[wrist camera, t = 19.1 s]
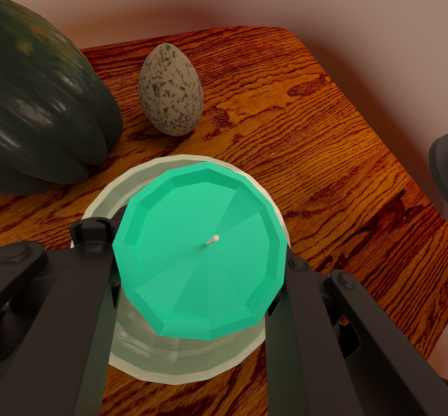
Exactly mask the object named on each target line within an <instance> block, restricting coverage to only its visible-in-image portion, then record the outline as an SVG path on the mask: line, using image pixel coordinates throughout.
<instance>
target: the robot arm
mask: <svg viewBox="0 0 448 416" xmlns="http://www.w3.org/2000/svg"><path fill="white" fill-rule="evenodd" d="M127 206H128V204H126V205H124V206H122V207H120V209H119V210H118V211H117V212H116V214H114V215H113V217H112V218H111V219H108V218H106V217H89V218H85V219H82V220H79V221H77V222H75V223H73V224H72V225H71V226H70V227H69V229H70V233H71V237H72V241H73V245H74V247H73V248H67V249H58V250H49V251H46V249H45V246H44V245H43V244H42V243H41V242H37V241H20V242H15V243H11V244H8V245H5V246H2V247H0V383H1V384H0V416H99V415H100V409H101V404H102V398H103V392H104V386H105V381H106V375H107V369H108V363H109V358H110V352H111V346H112V340H113V335H114V329H115V323H116V317H117V312H118V306H119V300H120V294H121V277H120V273H119V270H118V266H117V262H116V258H115V254H114V250H113V246H112V245H113V242H114V239H115V237H116V234H117V232H118V229H119V226H120V224H121V221H122V219H123V216H124V213H125V211H126V208H127ZM344 315H345V316H346V318H347V319H348V321H349V323H348V324H347V325H346V326H345V325H343V323H342V322H341V321H340V319H341V318H342V317H343V316H344ZM265 339H266V367H267V394H268V416H448V386H447V385H446V383H445V382H444V381H443V380H442V379H441V378H440V376H439V375H438V374H437V373H436V372H435V371H434V369H433V368H432V367H431V366H430V365H429V364H428V362H427V361H426V360H425V359H424V358H423V356H422V355H421V354H420V353H419V352H418V351H417V349H416V348H415V347H414V346H413V345H412V344H411V342H410V341H409V340H408V339H407V338H406V337H405V335H404V334H403V333H402V332H401V331H400V329H399V328H398V327H397V326H396V325H395V324H394V322H393V321H392V320H391V319H390V318H389V317H388V315H387V314H386V313H385V312H384V311H383V310H382V308H381V307H380V306H379V305H378V304H377V302H376V301H375V300H374V299H373V298H372V297H371V295H370V294H369V293H368V292H367V291H366V290H365V288H364V287H363V286H362V285H361V284H360V283H359V282H358V281H357V280H356V279H355V278H354V277H353V276H351V275H350V274H349V273H347V272H344V271H342V270H338V269H334V270H332V271H331V272H330V273H329V274H328V276H327V275H324V274H321V273H319V272H316V271H313V270H312V268H311V267H310V265H309V264H308V263H307V262H306V261H305V260H304V259H302V258H301V257H299V256H296V255H294V253H293V252H292V250H291V248H290V247H289V245H288V243H287V250H286V261H285V272H284V283H283V285H282V287H281V288H280V290H279V292H278V293H277V295H276V296H275V298H274V300H273V301H272V303H271V304H270V306H269V308H268V309H267V311H266V312H265Z"/></svg>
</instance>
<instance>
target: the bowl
mask: <svg viewBox="0 0 448 416" xmlns="http://www.w3.org/2000/svg"><path fill="white" fill-rule="evenodd" d="M207 161H209V162H211V163H214V164H216V165H219V166H221V167H224V168H226V169H229V170H231V171H234V172H236V173H239V174H241V175H244V176H246V178H247V179H248V180H249V181H250V182H251V183H252V184H253V185H254V186H255V187H256V188H257V189H258V190H259V191H260V192H261V193H262V194H263V195H264V196H265V197H266V198H267V199H268V200H269V201H270V203H271V204H272V206H273V208H274V210H275V213H276V215H277V217H278V220H279V222H280V224H281V227H282V229H283V231H284V234H285V236H286V238H287V243H288V245H289V247H290V248H291V246H290V238H289V234H288V231H287V229H286V226H285V223H284V220H283V218H282V215H281V213H280V211H279V209H278V208H277V206H276V205H275V203H274V202H273V200H272V199H271V197H270V195H269V194H268V193H267V191H266V190H265V189H264V188H263V187H262V186H260V185H259V184H258V183H257V182H256V181H255V180H254V179H253V178H252V177H251V176H250V175H248V174H246V173H245V172H243V171H241V170H240V169H238V168H236V167H235V166H233V165H231V164H229V163H226V162H223V161H220V160H217V159H214V158H211V157H207V156H197V155H185V154H183V155H182V154H181V155H174V156H167V157H160V158H156V159H153V160H151V161H148V162H146V163H143V164H141V165H138V166H136V167H133V168H132V169H129V170H128V171H126V172H125V173H124V174H122V175H121V176H119V177H118V178H117V179H115V180H114V181H112V182H111V183H109V184H108V185H107V186H106V187H105V188H104V189H103V191H102V192H101V193H100V194H99V195H98V196H97V197H96V199H95V200H94V201H93V202H92V203H91V204H90V206H89V207H88V208H87V209H86V211H85V213H84V215H83V217H82V219H85V218H89V217H106V218H108V219H111V218H112V217H113V215H114V214H116V212H117V211H118V210H119V209H120V207H122V206H124V205H126V204H128V203H129V200H130V198H131V197H133V196H134V195H135V194H137V193H138V192H139V191H141V190H142V189H143V188H145V187H146V186H147V185H149V184H150V183H151V182H152V181H154V180H155V179H156V178H158V177H159V176H160V175H162V174H163V173H164V172H166V171H168V170H172V169H176V168H181V167H185V166H189V165H194V164H198V163H202V162H207ZM82 219H81V220H82ZM73 247H74V245H73V241H72V243H71V248H73ZM264 340H265V314H264V315H263V317H262V319H261V320H260V322H259V323H258V324H257V325H254V326H251V327H248V328H245V329H242V330H240V331H237V332H234V333H231V334H228V335H225V336H222V337H220V338H217V339H214V340H211V341H207V340H197V339H187V338H176V337H166V336H159V335H158V334H157V333H156V331H155V330H154V329H153V328H152V327H151V326H150V324H149V323H148V322H147V321H146V320H145V318H144V317H143V316H142V315H141V314H140V312H139V311H138V310H137V309H136V308H135V306H134V305H133V304H132V303H131V302H130V300H129V299H128V298H127V297H126V296H125V293H124V289H123V285H122V281H121V294H120V300H119V306H118V312H117V317H116V323H115V329H114V335H113V340H112V346H111V352H110V358H109V364H110V365H112V366H114V367H116V368H118V369H119V370H121V371H123V372H125V373H127V374H129V375H131V376H133V377H135V378H137V379H139V380H144V381H150V382H157V383H164V384H171V385H174V384H175V385H178V384H184V383H190V382H196V381H202V380H207V379H210V378H212V377H214V376H216V375H218V374H220V373H222V372H224V371H226V370H228V369H230V368H232V367H234V366H236V365H238V363H241V362H242V361H243V360H244V359H245V358H246V357H247V356H248V355H249V354H250V353H252V352H253V351H254V350H255V349H256V348H257V347H258V346H259V345H260V344H262V342H263V341H264Z"/></svg>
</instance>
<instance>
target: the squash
mask: <svg viewBox="0 0 448 416" xmlns="http://www.w3.org/2000/svg"><path fill="white" fill-rule="evenodd" d="M122 131H123V119H122V115H121V111H120V109H119V106H118V104H117V102H116V100H115V99H114V97H113V95H112V94H111V92H110V91H109V90H108V88H107V87H106V86H105V84H104V83H103V82H102V81H101V80H100V78H99V77H98V76H97V74H96V73H95V71H94V69H93V68H92V66H91V64H90V63H89V61H88V60H87V58H86V57H85V56H84V54H83V53H82V52H81V51H80V50H79V49H78V48H77V47H76V46H75V45H74V44H73V43H72V42H71V40H70V39H68V38H67V37H66V36H65V35H64V34H63V33H62V32H61V31H60V30H58V29H57V28H56V27H54V25H52V24H51V23H50V22H49V21H47V20H46V19H45V18H43V17H42V16H40V15H39V14H37V13H35V12H33V11H31V10H30V9H28V8H26V7H24V6H22V5H19V4H17V3H15V2H13V1H11V0H0V193H1V194H9V195H34V194H40V193H44V192H47V191H50V190H52V189H54V188H56V187H57V186H59V185H60V184H78V183H82V182H85V181H86V179H87V178H88V175H89V169H88V166H87V165H100V164H102V163H103V162H105V161H106V160H107V158H108V151H107V149H108V148H110V147H112V146H113V145H114V144H116V143H117V142H118V141H119V139H120V137H121V135H122Z"/></svg>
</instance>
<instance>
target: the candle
mask: <svg viewBox="0 0 448 416" xmlns="http://www.w3.org/2000/svg"><path fill="white" fill-rule="evenodd" d="M112 246H113V250H114V254H115V258H116V262H117V266H118V270H119V273H120V277H121V281H122V285H123V289H124V293H125V296H126V297H127V298H128V299H129V300H130V302H131V303H132V304H133V305H134V306H135V308H136V309H137V310H138V311H139V312H140V314H141V315H142V316H143V317H144V318H145V320H146V321H147V322H148V323H149V324H150V326H151V327H152V328H153V329H154V330H155V331H156V333H157V334H158V335H159V336H166V337H176V338H187V339H197V340H207V341H211V340H214V339H217V338H220V337H222V336H225V335H228V334H231V333H234V332H237V331H240V330H242V329H245V328H248V327H251V326H254V325H257V324H258V323H259V322H260V320H261V319H262V317H263V315H264V314H265V312H266V311H267V309H268V308H269V306H270V304H271V303H272V301H273V300H274V298H275V296H276V295H277V293H278V292H279V290H280V288H281V287H282V285H283V283H284V272H285V261H286V250H287V238H286V236H285V234H284V231H283V229H282V227H281V224H280V222H279V220H278V217H277V215H276V213H275V210H274V208H273V206H272V204H271V203H270V201H269V200H268V199H267V198H266V197H265V196H264V195H263V194H262V193H261V192H260V191H259V190H258V189H257V188H256V187H255V186H254V185H253V184H252V183H251V182H250V181H249V180H248V179H247V178H246V176H244V175H241V174H239V173H236V172H234V171H231V170H229V169H226V168H224V167H221V166H219V165H216V164H214V163H211V162H209V161H207V162H202V163H198V164H194V165H189V166H185V167H181V168H176V169H172V170H168V171H166V172H164V173H163V174H162V175H160V176H159V177H158V178H156V179H155V180H154V181H152V182H151V183H150V184H149V185H147V186H146V187H145V188H143V189H142V190H141V191H139V192H138V193H137V194H135V195H134V196H133V197H131V198H130V200H129V203H128V206H127V208H126V211H125V213H124V216H123V219H122V221H121V224H120V226H119V229H118V232H117V234H116V237H115V239H114V242H113V245H112Z"/></svg>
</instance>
